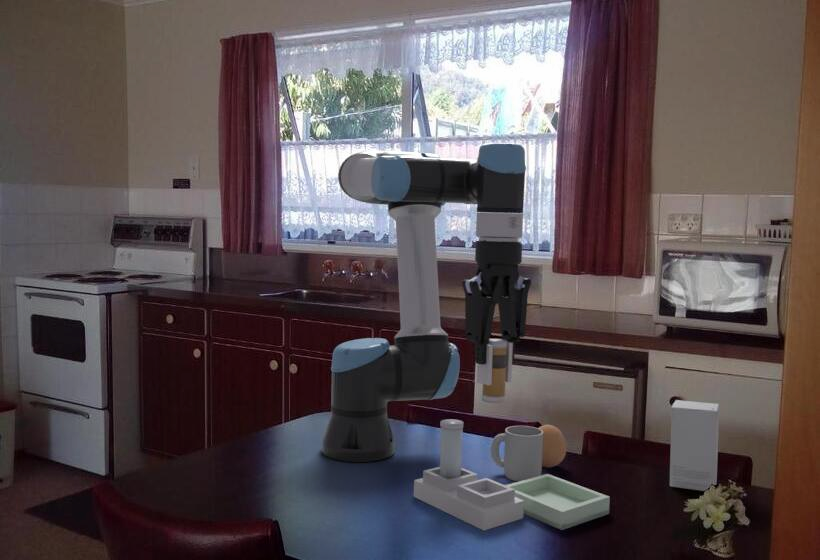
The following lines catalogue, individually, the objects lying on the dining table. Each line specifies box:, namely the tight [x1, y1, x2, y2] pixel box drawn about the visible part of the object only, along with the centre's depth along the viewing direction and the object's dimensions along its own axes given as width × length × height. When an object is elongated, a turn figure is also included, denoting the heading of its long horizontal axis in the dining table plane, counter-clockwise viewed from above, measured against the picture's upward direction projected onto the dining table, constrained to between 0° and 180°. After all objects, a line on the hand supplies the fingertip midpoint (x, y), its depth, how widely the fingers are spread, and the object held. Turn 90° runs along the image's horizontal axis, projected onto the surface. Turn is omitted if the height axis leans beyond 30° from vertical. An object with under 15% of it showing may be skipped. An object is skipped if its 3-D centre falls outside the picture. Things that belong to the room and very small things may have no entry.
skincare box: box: [669, 399, 720, 492], centre depth 147 cm, size 8×7×16 cm
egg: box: [538, 424, 567, 469], centre depth 156 cm, size 7×7×8 cm
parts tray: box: [504, 473, 611, 531], centre depth 134 cm, size 14×12×3 cm
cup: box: [490, 425, 543, 482], centre depth 150 cm, size 7×10×9 cm
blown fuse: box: [481, 338, 507, 404], centre depth 128 cm, size 4×4×10 cm
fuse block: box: [413, 418, 524, 532], centre depth 133 cm, size 18×9×14 cm, turn 38°
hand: (494, 381), depth 128 cm, fingers closed on blown fuse, 4 cm apart
